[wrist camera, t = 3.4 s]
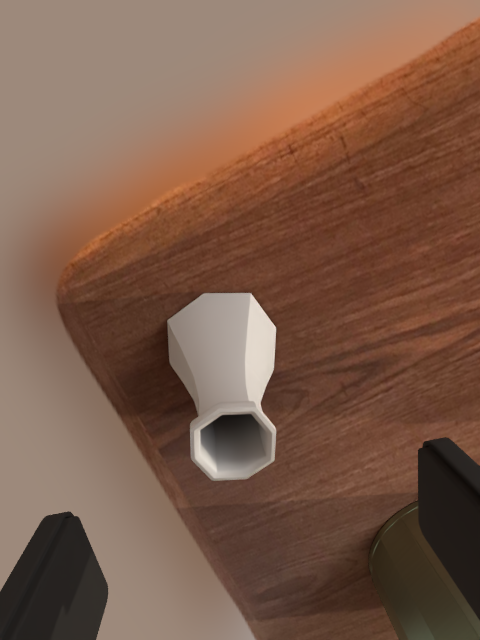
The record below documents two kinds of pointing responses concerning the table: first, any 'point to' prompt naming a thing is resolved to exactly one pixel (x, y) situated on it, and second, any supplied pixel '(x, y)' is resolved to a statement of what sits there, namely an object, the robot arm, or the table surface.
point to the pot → (418, 584)
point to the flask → (226, 381)
